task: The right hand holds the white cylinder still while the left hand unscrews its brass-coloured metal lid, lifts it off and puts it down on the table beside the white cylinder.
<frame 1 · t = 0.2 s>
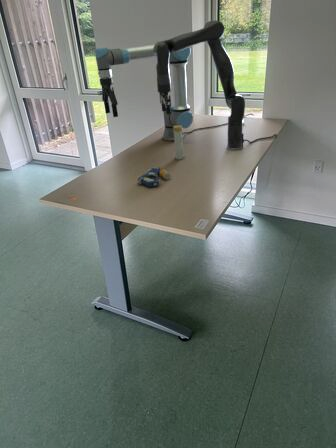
left hand: (111, 114, 206), 28 cm above the table, tool pointing down, fingers open, 13 cm apart
right hand: (166, 112, 195), 29 cm above the table, tool pointing down, fingers open, 8 cm apart
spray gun: (155, 180, 185), on the table
spoon: (234, 127, 260), on the table
lid: (177, 126, 201), point 20 cm above the table, screwed on, not yet turned
white cylinder: (179, 158, 211), on the table
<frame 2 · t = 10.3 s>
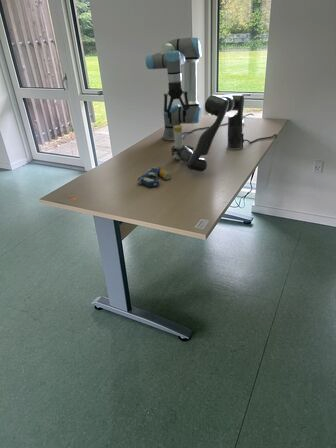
left hand: (177, 122, 200), 22 cm above the table, tool pointing down, fingers open, 7 cm apart
right hand: (177, 146, 210), 7 cm above the table, tool horizontal, fingers closed on white cylinder, 5 cm apart
white cylinder: (179, 158, 211), on the table, touching right hand
everything else where it was.
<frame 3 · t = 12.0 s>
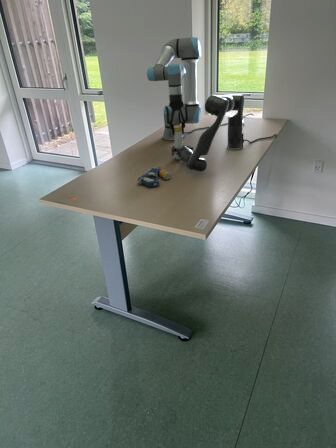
left hand: (178, 133, 203), 16 cm above the table, tool pointing down, fingers closed on lid, 5 cm apart
right hand: (177, 146, 210), 7 cm above the table, tool horizontal, fingers closed on white cylinder, 5 cm apart
lid: (177, 126, 201), point 20 cm above the table, screwed on, not yet turned, touching left hand
white cylinder: (179, 158, 211), on the table, touching right hand
everything else where it was.
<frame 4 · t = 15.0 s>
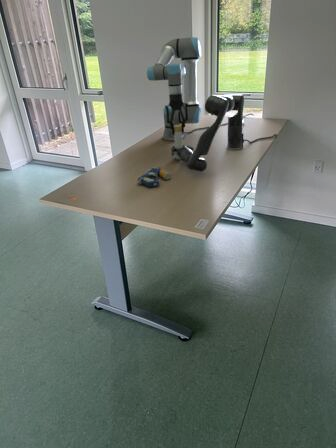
left hand: (178, 133, 203), 16 cm above the table, tool pointing down, fingers closed on lid, 5 cm apart
right hand: (177, 146, 210), 7 cm above the table, tool horizontal, fingers closed on white cylinder, 5 cm apart
lid: (177, 126, 201), point 20 cm above the table, turned 86° so far, risen 0.3 cm, still on its thread, touching left hand
white cylinder: (179, 158, 211), on the table, touching right hand
everything else where it was.
when the left hand's fingers open (0 cm above the table, at t = 23.6 s): lid drops 2 cm, point 2 cm above the table.
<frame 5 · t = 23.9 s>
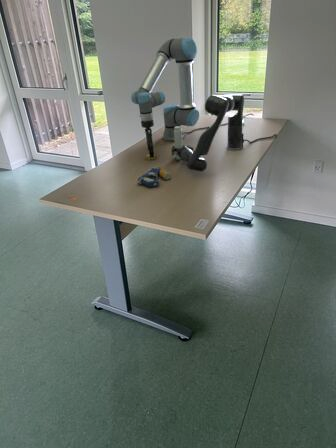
left hand: (151, 153, 214), 3 cm above the table, tool pointing down, fingers open, 13 cm apart
right hand: (177, 146, 210), 7 cm above the table, tool horizontal, fingers closed on white cylinder, 5 cm apart
lid: (150, 155, 214), point 2 cm above the table, off its thread
white cylinder: (179, 158, 211), on the table, touching right hand
everything else where it was.
when the right hand's fingers open (7 cm above the table, at t = 24.3 s): white cylinder stays where it is, on the table.
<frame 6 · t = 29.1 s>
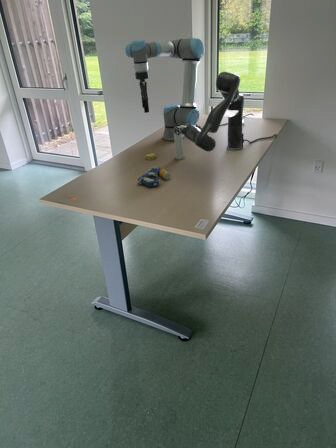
left hand: (145, 109, 200), 30 cm above the table, tool pointing down, fingers open, 13 cm apart
right hand: (183, 126, 191), 22 cm above the table, tool horizontal, fingers open, 8 cm apart
white cylinder: (179, 158, 211), on the table
everything else where it was.
at the end: lid came off its thread; lid point 1.9 cm above the table; the left hand is holding nothing; the right hand is holding nothing; white cylinder tilted 0°; white cylinder moved 0.0 cm from its start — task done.
